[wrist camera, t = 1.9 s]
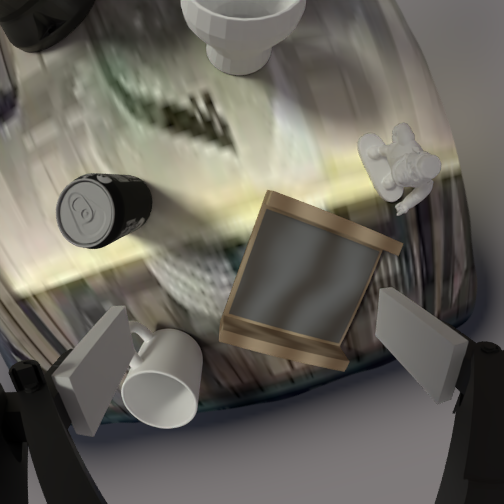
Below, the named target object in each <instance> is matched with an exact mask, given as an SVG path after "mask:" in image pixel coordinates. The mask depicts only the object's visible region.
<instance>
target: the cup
mask: <svg viewBox="0 0 504 504" xmlns="http://www.w3.org/2000/svg"><path fill="white" fill-rule="evenodd" d="M305 6H306V0H181V8H182V12H183V15H184V18H185V20H186V22H187V24H188V27H189V28H190V29H191V30H192V31H193V32H194V33H195V34H196V35H197V36H198V37H199V38H200V39H201V40H202V41H203V42H205V43H206V44H207V45H206V51H207V56H208V58H209V60H210V62H211V63H212V64H213V65H214V67H216V68H217V69H219V70H220V71H222V72H225V73H227V74H231V75H247V74H250V73H253V72H256V71H257V70H259V69H261V68H262V67H263V66H264V65H265V64H266V63H267V62H268V60H269V58H270V56H271V49H272V46H274V45H276V44H278V43H279V42H281V41H282V40H284V39H286V38H287V37H288V36H289V35H290V34H291V33H292V32H293V31H294V30H295V28H296V26H297V24H298V22H299V21H300V19H301V17H302V14H303V12H304V10H305Z"/></svg>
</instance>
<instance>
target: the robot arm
mask: <svg viewBox="0 0 504 504" xmlns="http://www.w3.org/2000/svg"><path fill="white" fill-rule="evenodd" d="M94 1H95V0H0V25H1V27H2V29H3V30H4V32H5V34H6V36H7V37H8V39H9V41H10V42H11V43H12V44H13V45H14V46H15V47H17V48H19V49H21V50H23V51H25V52H36V51H41V50H43V49H46V48H48V47H50V46H52V45H54V44H56V43H57V42H59V41H60V40H62V39H63V38H64V37H66V36H67V35H68V34H69V33H70V32H72V31H73V30H74V29H75V28H76V27H77V26H78V25H79V24H80V22H81V21H82V20H83V19H84V18H85V16H86V15H87V14H88V12H89V11H90V9H91V7H92V5H93V3H94ZM375 336H376V337H377V338H378V339H379V340H380V341H381V342H382V343H383V344H384V345H385V347H386V348H387V349H388V350H389V351H390V352H391V353H392V354H393V355H394V356H395V358H396V359H397V360H398V361H399V362H400V363H401V364H402V365H403V366H404V367H405V368H406V370H407V371H408V372H409V373H410V374H411V375H412V376H413V378H414V379H415V380H416V381H417V382H418V383H419V384H420V385H421V387H422V388H424V390H425V391H426V392H427V393H428V395H429V396H430V397H431V398H432V399H433V400H434V401H435V403H436V404H440V403H443V402H445V401H448V400H451V398H452V396H453V392H454V390H455V387H456V388H457V389H458V390H459V391H460V394H459V397H458V400H457V403H456V405H455V408H454V411H453V413H455V412H456V415H455V421H454V427H453V433H452V438H451V443H450V448H449V452H448V457H447V461H446V465H445V469H444V473H443V477H442V481H441V484H440V488H439V491H438V494H437V498H436V501H435V504H504V350H501V348H500V347H499V346H498V345H496V344H494V343H492V342H483V341H482V342H478V343H475V342H474V341H473V340H471V339H470V338H468V337H467V336H466V335H464V334H463V333H461V332H460V331H459V330H457V329H456V328H454V327H453V326H452V325H450V324H448V323H446V322H443V321H440V320H439V319H437V318H436V317H434V316H433V315H432V314H430V313H429V312H427V311H426V310H424V309H423V308H422V307H420V306H419V305H417V304H416V303H414V302H413V301H411V300H410V299H409V298H407V297H406V296H404V295H403V294H401V293H400V292H398V291H397V290H395V289H394V288H392V287H390V288H382V289H380V292H379V304H378V314H377V324H376V332H375ZM134 355H135V350H134V345H133V341H132V336H131V332H130V327H129V322H128V317H127V312H126V306H112V307H111V308H110V309H109V310H108V311H107V312H106V313H105V314H104V315H103V317H102V318H101V319H100V320H99V321H98V322H97V323H96V324H95V325H94V327H93V328H92V329H91V330H90V331H89V332H88V333H87V334H86V336H85V337H84V338H83V339H82V340H81V341H80V342H79V344H78V345H77V346H76V347H75V348H74V349H70V350H68V351H66V352H65V353H63V354H62V355H61V356H60V357H59V358H58V359H57V361H56V362H55V363H54V364H53V366H51V367H50V369H49V370H48V371H47V372H46V373H45V374H44V375H43V372H42V370H41V367H40V364H39V363H38V362H37V361H35V360H23V361H20V362H18V363H16V364H14V365H13V366H12V367H11V368H10V369H9V375H10V377H11V380H12V382H13V384H14V387H15V389H16V391H17V392H5V391H4V389H3V387H2V385H1V384H0V504H28V481H27V480H28V472H27V471H28V470H27V468H28V447H29V451H30V454H31V458H32V461H33V464H34V468H35V471H36V474H37V477H38V480H39V483H40V486H41V488H42V491H43V494H44V496H45V499H46V502H47V504H107V502H106V501H105V499H104V497H103V496H102V494H101V492H100V491H99V489H98V487H97V486H96V484H95V482H94V480H93V479H92V477H91V475H90V473H89V471H88V470H87V468H86V466H85V464H84V462H83V460H82V458H81V456H80V454H79V452H78V450H77V448H76V446H75V444H74V442H73V439H72V437H71V435H70V433H69V431H68V428H69V426H70V424H71V423H72V425H73V427H74V429H75V431H76V433H77V434H81V435H86V436H93V437H94V435H95V433H96V431H97V429H98V426H99V424H100V422H101V420H102V418H103V416H104V414H105V412H106V410H107V408H108V406H109V404H110V402H111V400H112V398H113V396H114V394H115V392H116V390H117V388H118V386H119V384H120V382H121V380H122V378H123V376H124V374H125V372H126V370H127V368H128V366H129V364H130V362H131V360H132V358H133V356H134Z"/></svg>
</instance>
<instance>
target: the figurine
mask: <svg viewBox="0 0 504 504" xmlns="http://www.w3.org/2000/svg"><path fill="white" fill-rule="evenodd" d="M392 142H393V143H391V144H390V145H385V143H384V142H383V140H382V139H381V138H380V137H379V136H377V135H376V134H374V133H367V134H365V135H363V136H361V137H360V138H359V140H358V145H357V147H358V153H359V156H360V158H361V161H362V163H363V165H364V168H365V169H366V171H367V174H368V175H369V177H370V180H371V181H372V183H373V186H374V188H375V189H376V191H377V193H378V194H379V196H380V197H381V198H382V199H383V200H385V201H387V202H394V201H396V200H398V199H399V198H400V197H401V196H402V194H403V187H409V186H410V187H414V189H413V191H412V192H411V193H409V194H408V195H407V196H406V197H405V199H404V200H403V201H402V202H400V203H398V204H397V205H396V206H395V208H396V209H397V211H398V213H397V216H399V215H401V214H403V213H407V211H408V209H410V208H412V207H414V206H415V205H416V204H418V203H419V202H421V201H422V200H423V199H424V198H425V197H426V196H427V195H428V194H429V193H430V192H431V190H432V187H433V183H434V182H433V181H432V179H433V178H435V177H436V176H437V175H438V174H439V172H440V170H441V162H440V159H439V158H438V157H437V156H435V155H431V154H430V153H428V152H426V151H423V149H422V148H421V146H420V145H419V144H418V143H417V142H416V141H415V137H414V133H413V132H412V130H411V128H410V126H409V125H408V124H407V123H400V124H398V125H396V126H395V127H394V129H393V131H392Z"/></svg>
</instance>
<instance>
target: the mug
mask: <svg viewBox="0 0 504 504" xmlns="http://www.w3.org/2000/svg"><path fill="white" fill-rule="evenodd" d="M129 327H130V332H131V333H132V332H135V333H137V334H138V335H140V336H141V338H142V339H143V340H144V343H143V344H142V346H141V348H140V350H139V352H138V354H137V352H136V351H135V355H134V356H133V358H132V360H131V362H130V364H129V365H130V367H131V369H130V371H129V373H128V375H127V377H126V379H125V381H124V383H123V386H122V391H121V392H122V399H123V402H124V404H125V406H126V408H127V409H128V410H129V411H130V413H131V414H132V415H134V416H135V417H136V418H137V419H139V420H140V421H142V422H144V423H146V424H148V425H151V426H154V427H159V428H176V427H180V426H183V425H185V424H187V423H188V422H190V421H191V420H192V419H193V417H194V416H195V414H196V412H197V406H198V398H199V389H200V381H201V373H202V365H203V356H202V351H201V349H200V347H199V345H198V343H197V342H196V341H195V340H194V339H193V338H192V337H191V336H189V335H188V334H186V333H185V332H182V331H180V330H176V329H161V330H157V331H155V332H153V333H152V332H151V331H150V330H149V329H148V328H147V327H146V326H144V325H143V324H141V323H139V322H136V321H129ZM134 350H135V349H134Z"/></svg>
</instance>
